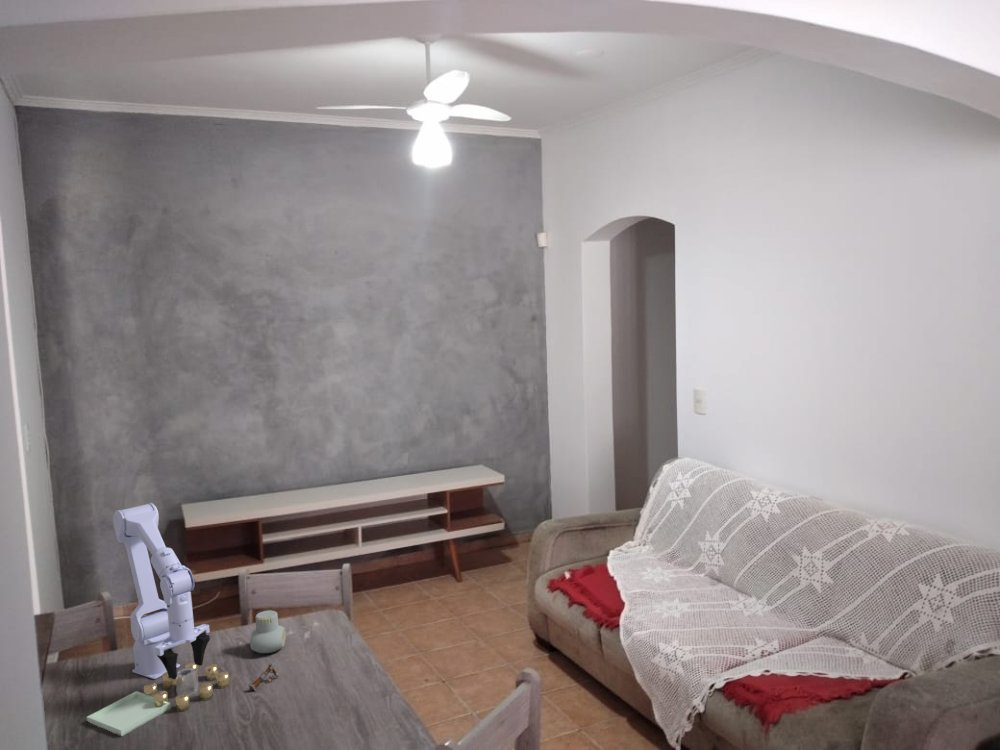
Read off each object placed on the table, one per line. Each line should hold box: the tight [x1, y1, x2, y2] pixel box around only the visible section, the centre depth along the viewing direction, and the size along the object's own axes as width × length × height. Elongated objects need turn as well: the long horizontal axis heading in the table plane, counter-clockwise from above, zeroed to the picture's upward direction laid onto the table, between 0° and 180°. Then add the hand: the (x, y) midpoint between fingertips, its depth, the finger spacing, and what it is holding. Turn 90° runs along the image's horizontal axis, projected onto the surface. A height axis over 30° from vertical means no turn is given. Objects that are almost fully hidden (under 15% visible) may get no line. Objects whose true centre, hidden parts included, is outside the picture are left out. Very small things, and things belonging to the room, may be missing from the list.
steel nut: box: [175, 668, 200, 696], centre depth 198 cm, size 5×4×5 cm
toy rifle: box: [248, 662, 280, 692], centre depth 200 cm, size 2×8×4 cm, turn 143°
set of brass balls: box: [143, 661, 231, 713], centre depth 198 cm, size 17×18×3 cm
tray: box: [86, 690, 172, 737], centre depth 188 cm, size 13×13×2 cm
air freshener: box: [249, 609, 287, 654], centre depth 220 cm, size 11×8×10 cm
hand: (186, 671), depth 198 cm, fingers open, 7 cm apart
